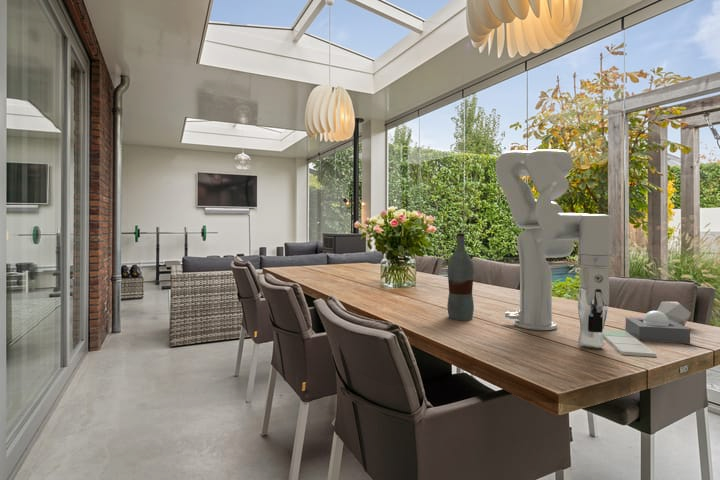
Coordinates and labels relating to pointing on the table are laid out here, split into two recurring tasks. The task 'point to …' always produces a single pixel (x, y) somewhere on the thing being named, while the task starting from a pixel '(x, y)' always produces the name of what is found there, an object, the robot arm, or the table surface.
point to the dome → (656, 318)
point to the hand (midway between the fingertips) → (591, 327)
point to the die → (675, 312)
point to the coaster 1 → (616, 333)
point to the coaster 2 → (622, 340)
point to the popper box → (658, 331)
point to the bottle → (460, 283)
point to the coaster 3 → (634, 350)
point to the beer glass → (584, 311)
